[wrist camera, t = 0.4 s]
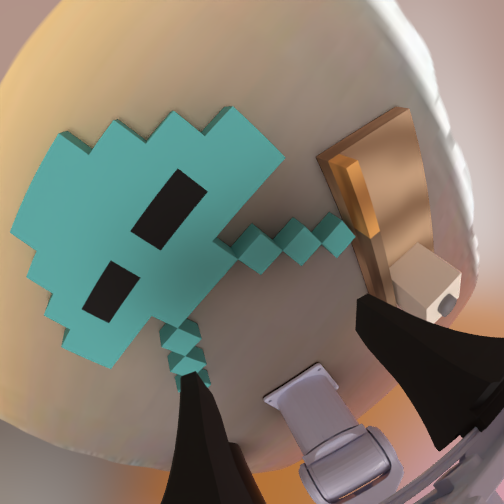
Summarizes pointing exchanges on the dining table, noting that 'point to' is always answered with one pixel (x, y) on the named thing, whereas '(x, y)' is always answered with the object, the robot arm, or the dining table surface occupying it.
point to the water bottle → (246, 475)
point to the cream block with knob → (425, 284)
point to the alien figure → (151, 231)
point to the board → (381, 195)
